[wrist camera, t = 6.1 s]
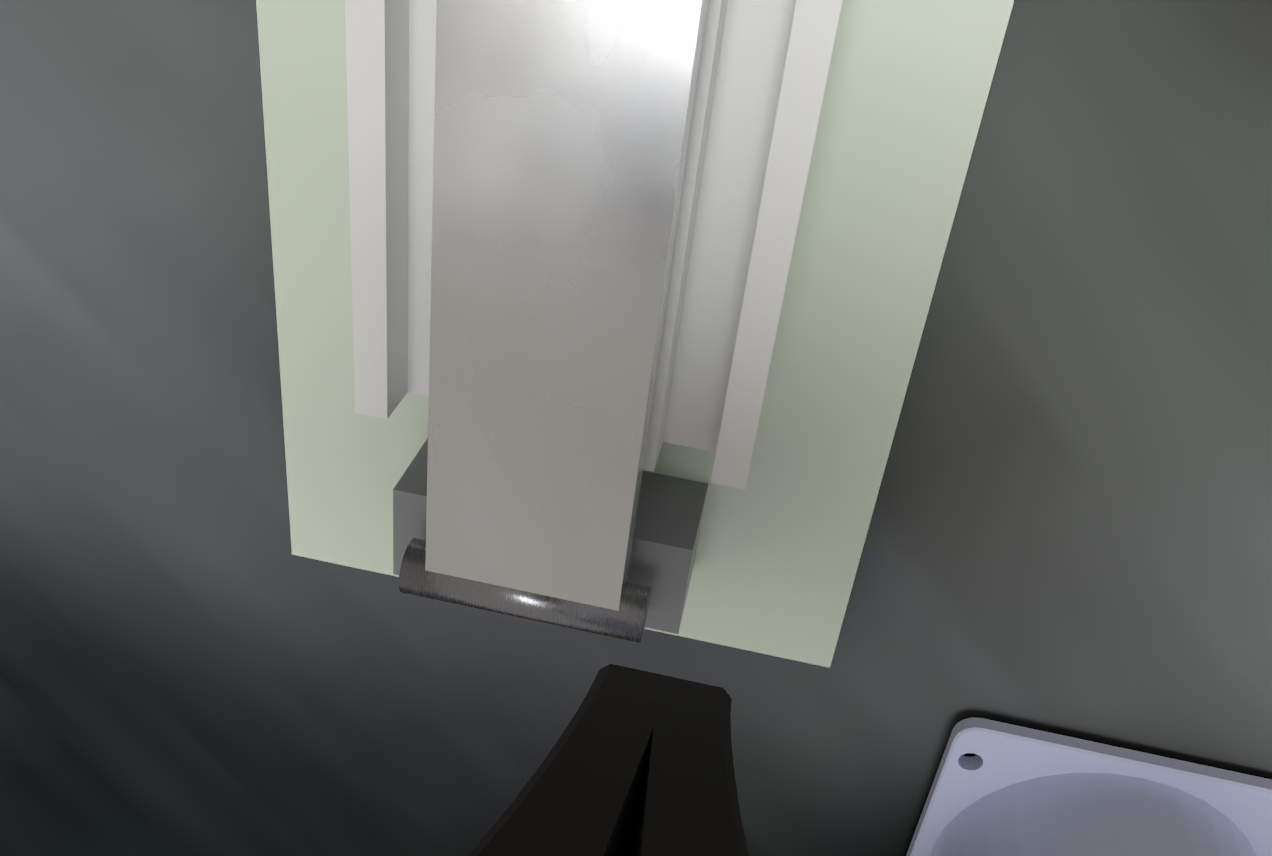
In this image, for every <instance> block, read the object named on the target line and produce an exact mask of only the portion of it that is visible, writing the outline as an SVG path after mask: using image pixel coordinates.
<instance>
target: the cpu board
mask: <svg viewBox="0 0 1272 856" xmlns="http://www.w3.org/2000/svg"><path fill="white" fill-rule="evenodd" d="M1013 3H1014V0H708V7H707V14H706V22H705V29H704V36H703V43H702V50H701V57H700V65H699V72H698V79H697V86H696V93H695V100H694V108H693V115H692V122H691V129H690V136H689V143H688V150H687V158H686V165H685V172H684V179H683V186H682V193H681V201H680V208H679V215H678V222H677V229H676V236H675V244H674V251H673V258H672V265H671V272H670V279H669V287H668V294H667V301H666V308H665V315H664V322H663V329H662V337H661V344H660V351H659V358H658V365H657V372H656V380H655V387H654V394H653V401H652V408H651V415H650V423H649V430H648V437H647V444H646V451H645V458H644V466H643V473H642V480H641V487H640V494H639V501H638V508H637V516H636V523H635V530H634V537H633V544H632V551H631V559H630V566H629V573H628V580H627V582H630V583H635V584H640V585H645V586H649V587H652V590H651V598H650V604H649V609H648V614H647V619H646V624H645V628H644V629H648V630H653V631H658V632H662V633H667V634H672V635H677V636H681V637H686V638H691V639H696V640H700V641H705V642H710V643H715V644H719V645H724V646H729V647H734V648H738V649H743V650H748V651H753V652H757V653H762V654H767V655H772V656H776V657H781V658H786V659H791V660H795V661H800V662H805V663H810V664H814V665H819V666H824V667H829V668H830V666H831V662H832V659H833V655H834V651H835V648H836V644H837V640H838V637H839V633H840V630H841V626H842V622H843V619H844V615H845V611H846V608H847V604H848V601H849V597H850V593H851V590H852V586H853V583H854V579H855V575H856V572H857V568H858V564H859V561H860V557H861V554H862V550H863V546H864V543H865V539H866V535H867V532H868V528H869V525H870V521H871V517H872V514H873V510H874V506H875V503H876V499H877V496H878V492H879V488H880V485H881V481H882V477H883V474H884V470H885V467H886V463H887V459H888V456H889V452H890V448H891V445H892V441H893V438H894V434H895V430H896V427H897V423H898V419H899V416H900V412H901V409H902V405H903V401H904V398H905V394H906V390H907V387H908V383H909V380H910V376H911V372H912V369H913V365H914V361H915V358H916V354H917V351H918V347H919V343H920V340H921V336H922V333H923V329H924V325H925V322H926V318H927V314H928V311H929V307H930V304H931V300H932V296H933V293H934V289H935V285H936V282H937V278H938V275H939V271H940V267H941V264H942V260H943V256H944V253H945V249H946V246H947V242H948V238H949V235H950V231H951V227H952V224H953V220H954V217H955V213H956V209H957V206H958V202H959V198H960V195H961V191H962V188H963V184H964V180H965V177H966V173H967V169H968V166H969V162H970V159H971V155H972V151H973V148H974V144H975V140H976V137H977V133H978V130H979V126H980V122H981V119H982V115H983V111H984V108H985V104H986V101H987V97H988V93H989V90H990V86H991V82H992V79H993V75H994V72H995V68H996V64H997V61H998V57H999V54H1000V50H1001V46H1002V43H1003V39H1004V35H1005V32H1006V28H1007V25H1008V21H1009V17H1010V14H1011V10H1012V6H1013ZM256 6H257V21H258V37H259V52H260V68H261V83H262V99H263V114H264V129H265V145H266V160H267V176H268V191H269V207H270V222H271V238H272V253H273V269H274V284H275V300H276V315H277V331H278V346H279V362H280V377H281V393H282V408H283V424H284V439H285V455H286V470H287V486H288V501H289V516H290V532H291V547H292V555H297V556H302V557H307V558H311V559H316V560H321V561H326V562H330V563H335V564H340V565H345V566H349V567H354V568H359V569H364V570H368V571H373V572H378V573H382V574H387V575H392V576H397V577H399V573H400V567H401V563H402V559H403V556H404V553H405V550H406V548H407V546H408V544H409V542H410V541H411V540H412V539H413V538H417V539H422V540H426V510H427V460H428V409H429V359H430V308H431V258H432V208H433V157H434V107H435V57H436V6H437V0H256Z"/></svg>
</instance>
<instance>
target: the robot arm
mask: <svg viewBox="0 0 1272 856" xmlns="http://www.w3.org/2000/svg"><path fill="white" fill-rule="evenodd" d="M730 711H731V697H730V696H729V695H728V694H727V692H726V691H725V690H724V689H723V688H720V687H716V686H711V685H706V684H702V683H697V682H692V681H688V680H683V679H678V678H674V677H669V676H664V675H660V674H655V673H650V672H646V671H641V670H636V669H632V668H627V667H623V666H618V665H613V664H610V665H608V666H606V667H604V668H602V669H600V670H599V671H598V674H597V676H596V678H595V680H594V682H593V684H592V686H591V688H590V690H589V692H588V693H587V695H586V697H585V699H584V700H583V702H582V704H581V706H580V707H579V709H578V711H577V712H576V714H575V716H574V717H573V719H572V720H571V722H570V723H569V725H568V727H567V728H566V730H565V731H564V733H563V734H562V735H561V737H560V738H559V740H558V741H557V743H556V744H555V746H554V747H553V749H552V750H551V752H550V753H549V755H548V756H547V757H546V759H545V760H544V761H543V763H542V764H541V765H540V767H539V768H538V769H537V771H536V772H535V773H534V775H533V776H532V777H531V779H530V780H529V781H528V783H527V784H526V785H525V787H524V788H523V789H522V791H521V792H520V793H519V795H518V796H517V797H516V799H515V800H514V801H513V803H512V804H511V805H510V807H509V808H508V809H507V810H506V812H505V813H504V814H503V815H502V816H501V818H500V819H499V820H498V821H497V822H496V824H495V825H494V826H493V827H492V828H491V829H490V831H489V832H488V833H487V834H486V835H485V836H484V838H483V839H482V840H481V841H480V842H479V843H478V845H477V846H476V847H475V848H474V849H473V850H472V852H471V853H470V854H469V855H468V856H749V855H748V850H747V845H746V841H745V836H744V831H743V826H742V821H741V815H740V809H739V803H738V797H737V789H736V782H735V774H734V767H733V757H732V746H731V721H730ZM966 753H974V754H977V755H976V756H973V757H966V756H963V755H964V754H966ZM906 856H1272V779H1267V778H1262V777H1257V776H1253V775H1248V774H1243V773H1239V772H1234V771H1229V770H1224V769H1220V768H1215V767H1210V766H1206V765H1201V764H1196V763H1191V762H1187V761H1182V760H1177V759H1173V758H1168V757H1163V756H1158V755H1154V754H1149V753H1144V752H1140V751H1135V750H1130V749H1125V748H1121V747H1116V746H1111V745H1107V744H1102V743H1097V742H1093V741H1088V740H1083V739H1078V738H1074V737H1069V736H1064V735H1060V734H1055V733H1050V732H1045V731H1041V730H1036V729H1031V728H1027V727H1022V726H1017V725H1012V724H1008V723H1003V722H998V721H994V720H989V719H984V718H975V717H972V718H967V719H963V720H962V721H960V722H958V723H957V724H956V725H955V727H954V728H953V730H952V732H951V735H950V738H949V740H948V743H947V746H946V749H945V751H944V754H943V757H942V759H941V762H940V765H939V768H938V770H937V773H936V776H935V778H934V781H933V784H932V787H931V789H930V792H929V795H928V797H927V800H926V803H925V805H924V808H923V811H922V814H921V816H920V819H919V822H918V824H917V827H916V830H915V833H914V835H913V838H912V841H911V843H910V846H909V849H908V852H907V854H906Z"/></svg>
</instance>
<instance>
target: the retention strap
mask: <svg viewBox="0 0 1272 856" xmlns="http://www.w3.org/2000/svg"><path fill="white" fill-rule="evenodd" d="M707 7H708V0H437V6H436V57H435V107H434V157H433V208H432V258H431V308H430V359H429V409H428V460H427V510H426V540H422V539H417V538H413V539H412V540H411V541H410V542H409V544H408V546H407V548H406V550H405V553H404V556H403V559H402V563H401V567H400V573H399V589H400V591H401V592H403V593H408V594H413V595H417V596H422V597H427V598H431V599H436V600H441V601H446V602H450V603H455V604H460V605H464V606H469V607H474V608H479V609H483V610H488V611H493V612H497V613H502V614H507V615H512V616H516V617H521V618H526V619H530V620H535V621H540V622H545V623H549V624H554V625H559V626H563V627H568V628H573V629H578V630H582V631H587V632H592V633H596V634H601V635H606V636H611V637H615V638H620V639H625V640H629V641H634V642H639V643H640V642H641V640H642V636H643V632H644V628H645V624H646V619H647V614H648V609H649V604H650V598H651V590H652V587H649V586H645V585H640V584H635V583H630V582H627V580H628V573H629V566H630V559H631V551H632V544H633V537H634V530H635V523H636V516H637V508H638V501H639V494H640V487H641V480H642V473H643V466H644V458H645V451H646V444H647V437H648V430H649V423H650V415H651V408H652V401H653V394H654V387H655V380H656V372H657V365H658V358H659V351H660V344H661V337H662V329H663V322H664V315H665V308H666V301H667V294H668V287H669V279H670V272H671V265H672V258H673V251H674V244H675V236H676V229H677V222H678V215H679V208H680V201H681V193H682V186H683V179H684V172H685V165H686V158H687V150H688V143H689V136H690V129H691V122H692V115H693V108H694V100H695V93H696V86H697V79H698V72H699V65H700V57H701V50H702V43H703V36H704V29H705V22H706V14H707Z"/></svg>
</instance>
